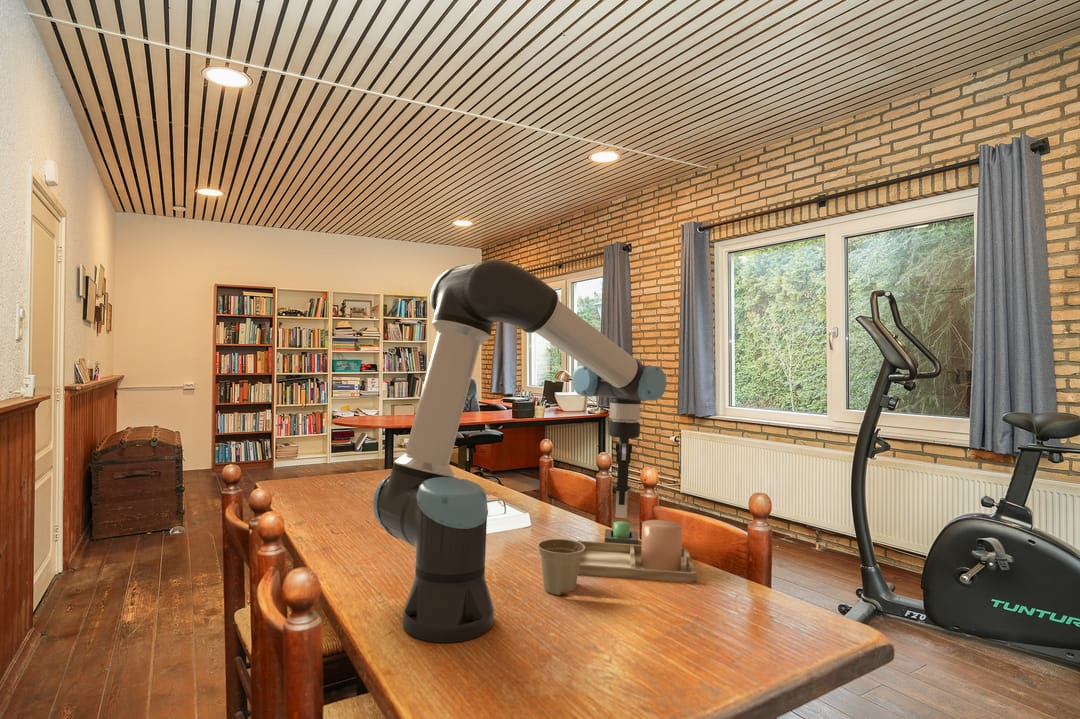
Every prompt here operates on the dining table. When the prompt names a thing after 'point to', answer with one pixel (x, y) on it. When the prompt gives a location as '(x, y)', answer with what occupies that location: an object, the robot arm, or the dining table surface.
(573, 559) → the flower pot
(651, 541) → the taupe pillar candle
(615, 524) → the button
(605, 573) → the wooden serving tray
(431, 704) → the dining table surface
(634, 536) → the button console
